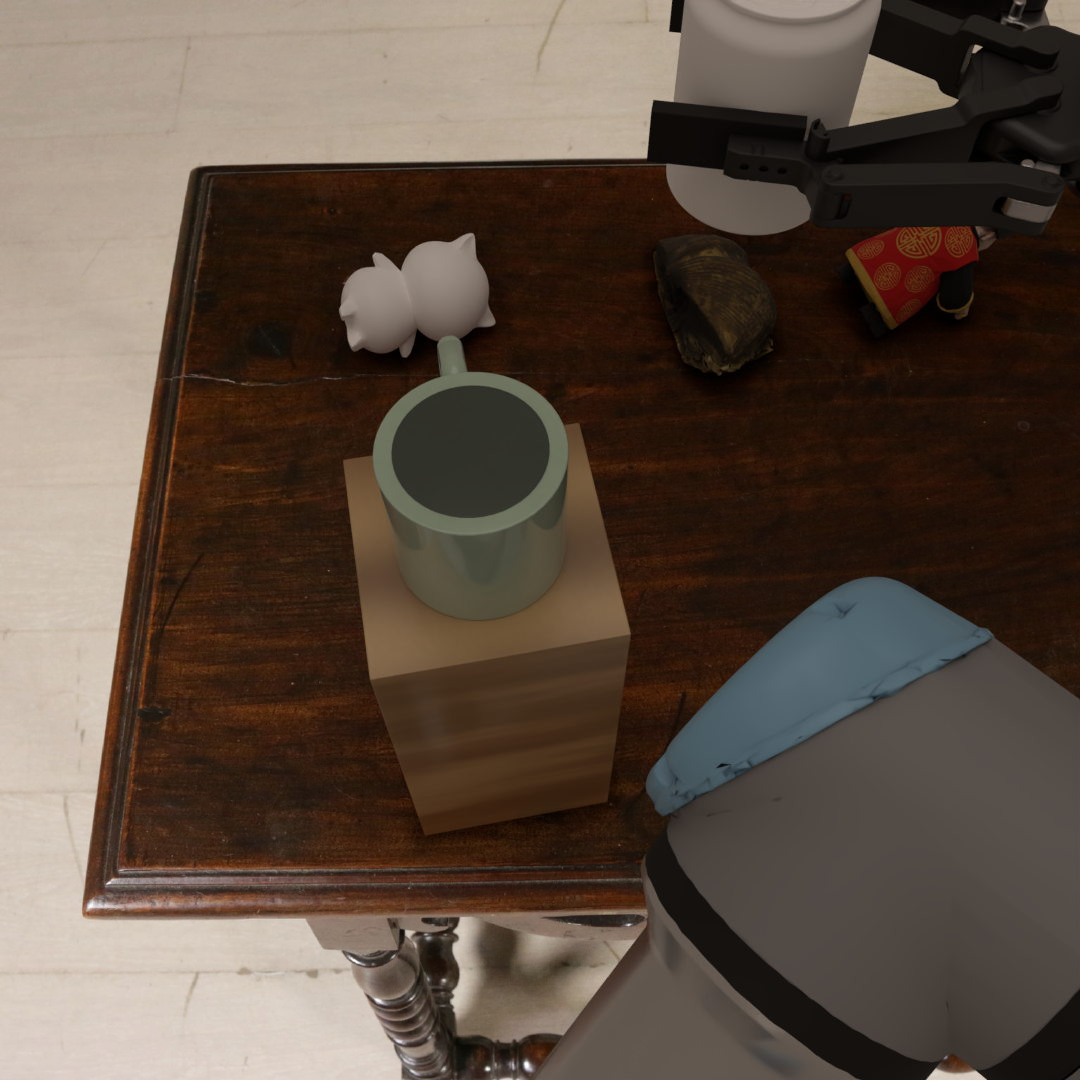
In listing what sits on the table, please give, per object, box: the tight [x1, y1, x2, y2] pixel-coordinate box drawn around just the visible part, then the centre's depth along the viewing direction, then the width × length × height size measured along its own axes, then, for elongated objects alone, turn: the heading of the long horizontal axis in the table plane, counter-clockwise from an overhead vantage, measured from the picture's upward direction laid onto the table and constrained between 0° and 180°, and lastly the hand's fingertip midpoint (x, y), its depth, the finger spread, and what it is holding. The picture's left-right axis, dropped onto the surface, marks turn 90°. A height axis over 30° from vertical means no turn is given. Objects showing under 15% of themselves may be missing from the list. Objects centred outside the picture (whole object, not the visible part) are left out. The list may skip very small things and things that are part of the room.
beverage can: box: [665, 0, 882, 236], centre depth 53 cm, size 8×8×12 cm
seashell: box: [652, 234, 778, 376], centre depth 93 cm, size 16×9×7 cm, turn 14°
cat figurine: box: [338, 232, 497, 359], centre depth 93 cm, size 9×11×12 cm
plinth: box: [342, 422, 632, 837], centre depth 67 cm, size 12×12×26 cm
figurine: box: [835, 226, 1016, 339], centre depth 93 cm, size 10×10×15 cm
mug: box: [372, 335, 569, 620], centre depth 53 cm, size 12×8×8 cm
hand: (662, 63), depth 53 cm, fingers closed on beverage can, 8 cm apart
